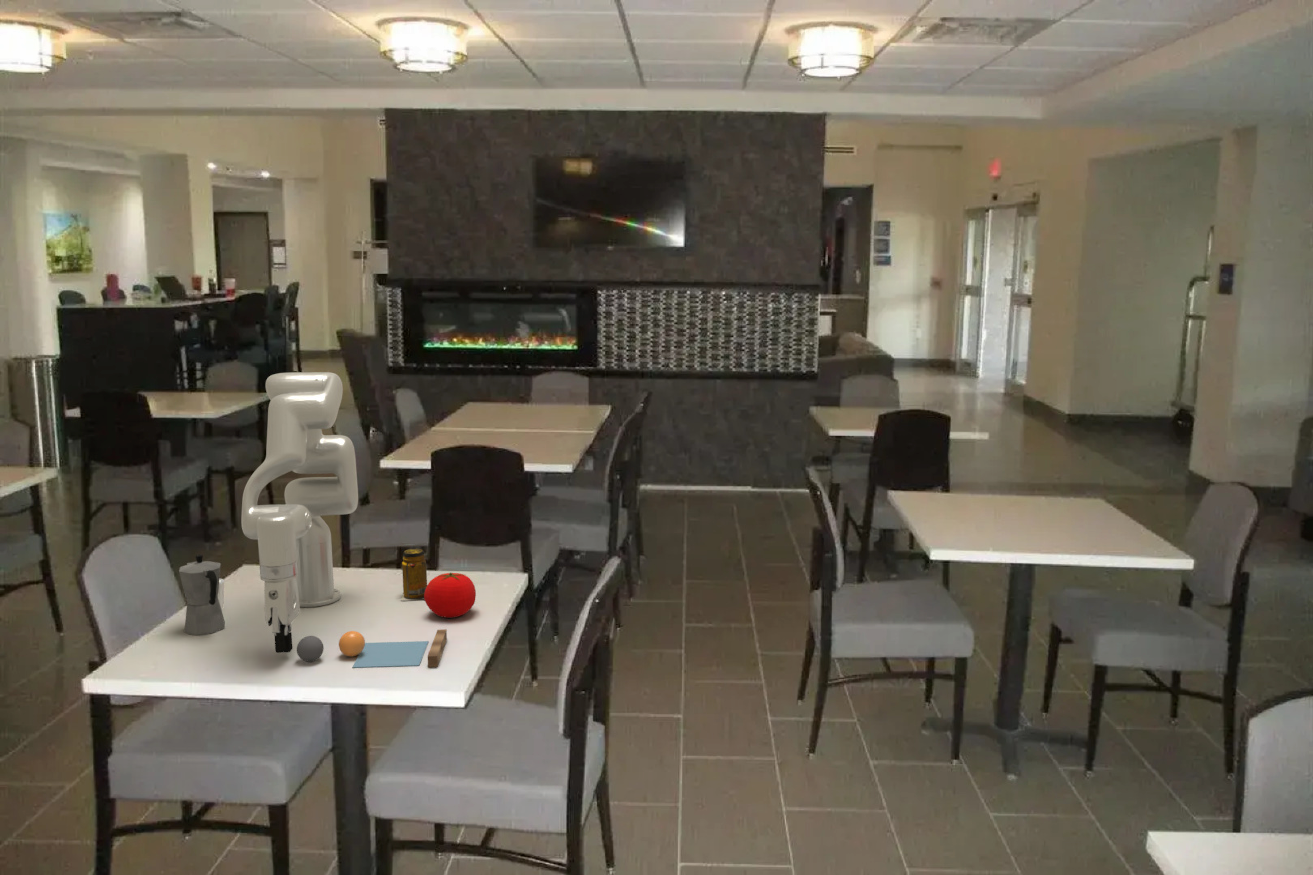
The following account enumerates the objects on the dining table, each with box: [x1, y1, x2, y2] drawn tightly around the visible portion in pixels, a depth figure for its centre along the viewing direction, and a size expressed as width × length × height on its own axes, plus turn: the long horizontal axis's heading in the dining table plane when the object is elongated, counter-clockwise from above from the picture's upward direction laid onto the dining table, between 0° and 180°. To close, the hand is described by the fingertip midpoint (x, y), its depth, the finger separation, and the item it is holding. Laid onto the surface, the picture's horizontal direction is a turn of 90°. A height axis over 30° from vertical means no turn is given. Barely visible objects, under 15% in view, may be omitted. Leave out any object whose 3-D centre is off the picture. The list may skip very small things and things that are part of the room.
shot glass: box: [218, 578, 225, 610], centre depth 257 cm, size 7×7×7 cm
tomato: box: [423, 572, 477, 618], centre depth 252 cm, size 11×12×10 cm
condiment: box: [400, 548, 428, 602], centre depth 266 cm, size 7×8×12 cm
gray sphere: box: [296, 635, 324, 663], centre depth 224 cm, size 6×6×6 cm
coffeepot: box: [178, 554, 226, 636], centre depth 241 cm, size 15×9×18 cm, turn 43°
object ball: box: [338, 630, 366, 657], centre depth 226 cm, size 6×6×6 cm
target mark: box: [352, 640, 429, 669], centre depth 227 cm, size 14×14×1 cm
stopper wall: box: [427, 629, 448, 668], centre depth 228 cm, size 16×2×2 cm, turn 4°
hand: (284, 651), depth 225 cm, fingers closed
